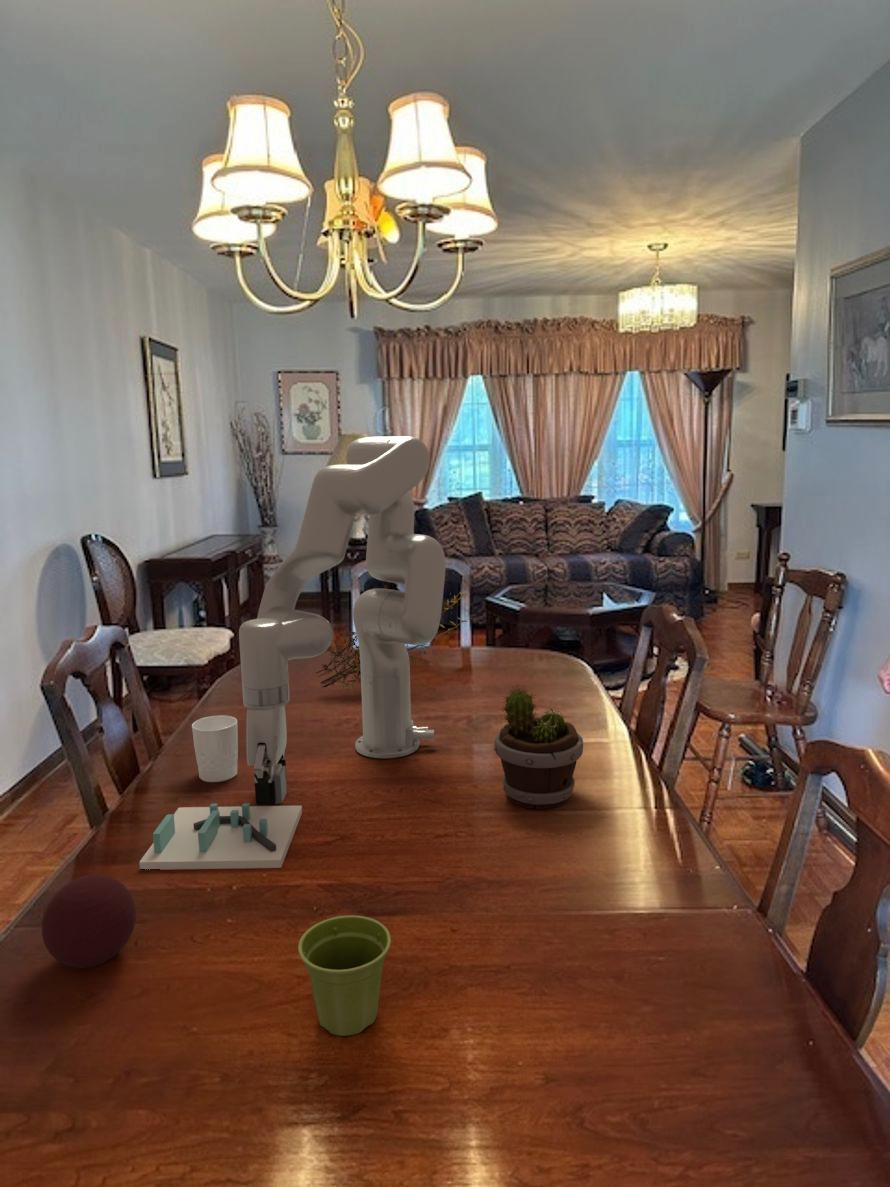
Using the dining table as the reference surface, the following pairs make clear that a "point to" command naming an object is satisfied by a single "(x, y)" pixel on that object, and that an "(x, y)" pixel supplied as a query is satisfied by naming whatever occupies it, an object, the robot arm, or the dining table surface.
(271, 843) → the cable
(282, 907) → the dining table surface
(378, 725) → the robot arm
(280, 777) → the block
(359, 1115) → the dining table surface
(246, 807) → the clips
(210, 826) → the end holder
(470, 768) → the dining table surface
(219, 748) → the white cup
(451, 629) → the dried plant
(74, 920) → the decorative ball
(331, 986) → the plant pot
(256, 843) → the board
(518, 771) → the flowerpot
